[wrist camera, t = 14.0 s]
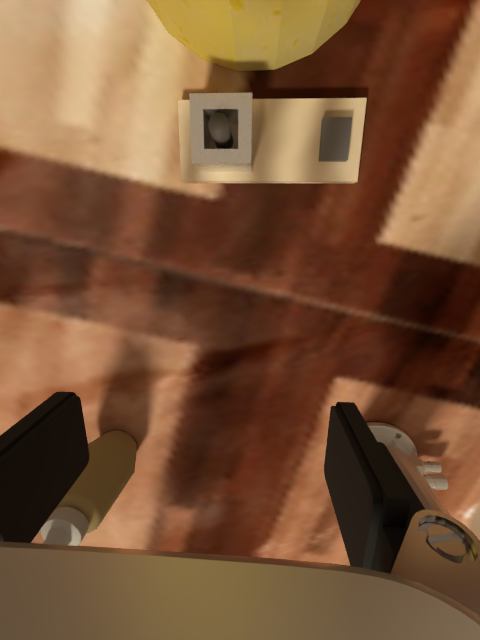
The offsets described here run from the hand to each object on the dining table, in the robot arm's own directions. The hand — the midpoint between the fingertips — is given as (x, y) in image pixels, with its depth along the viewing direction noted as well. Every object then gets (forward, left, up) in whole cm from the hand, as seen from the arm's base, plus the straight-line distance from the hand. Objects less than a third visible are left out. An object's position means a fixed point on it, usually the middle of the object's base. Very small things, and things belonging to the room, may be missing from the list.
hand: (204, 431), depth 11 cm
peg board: (-3, -17, -28) cm, 33 cm away
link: (+2, -17, -27) cm, 32 cm away
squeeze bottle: (+19, +25, -28) cm, 42 cm away
